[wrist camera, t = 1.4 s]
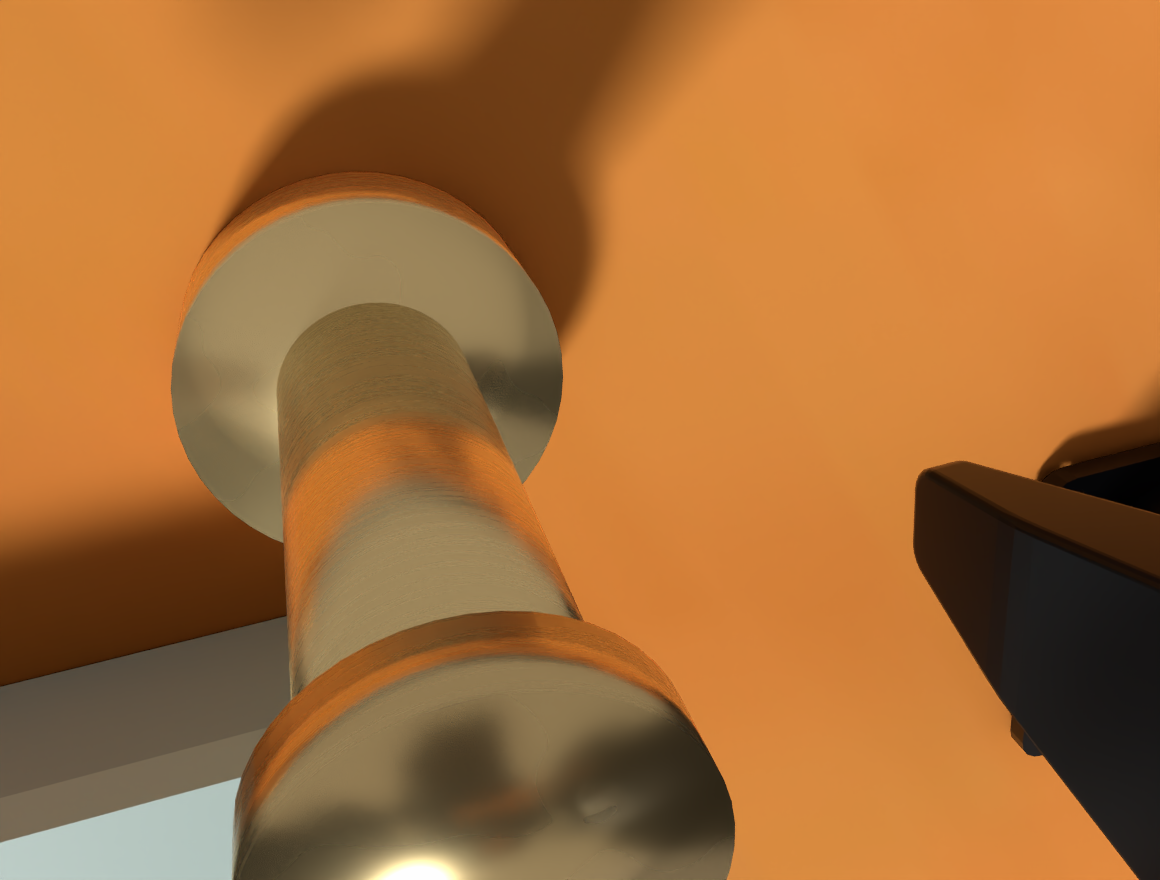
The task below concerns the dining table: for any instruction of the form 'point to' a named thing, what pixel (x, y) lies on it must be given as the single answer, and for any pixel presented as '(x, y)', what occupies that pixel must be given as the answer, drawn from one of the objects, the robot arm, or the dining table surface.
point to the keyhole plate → (137, 758)
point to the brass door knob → (421, 561)
